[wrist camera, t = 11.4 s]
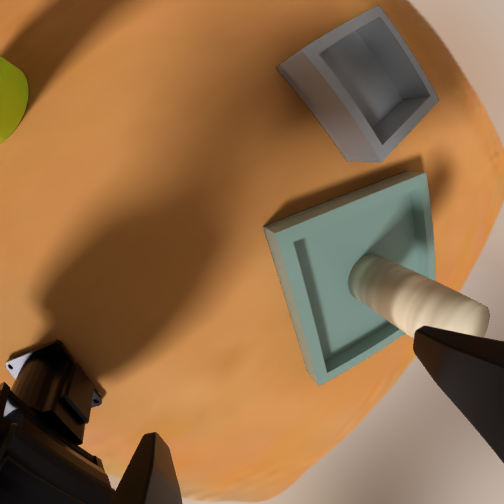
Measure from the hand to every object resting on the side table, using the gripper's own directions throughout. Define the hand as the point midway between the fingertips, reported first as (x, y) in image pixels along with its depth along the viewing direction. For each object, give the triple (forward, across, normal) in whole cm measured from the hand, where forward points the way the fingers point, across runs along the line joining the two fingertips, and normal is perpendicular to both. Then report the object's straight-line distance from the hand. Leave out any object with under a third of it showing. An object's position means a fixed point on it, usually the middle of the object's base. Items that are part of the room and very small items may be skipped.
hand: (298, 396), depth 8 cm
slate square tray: (+14, -13, -10) cm, 21 cm away
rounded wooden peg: (+13, -11, +5) cm, 17 cm away
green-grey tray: (+14, -11, +5) cm, 18 cm away
